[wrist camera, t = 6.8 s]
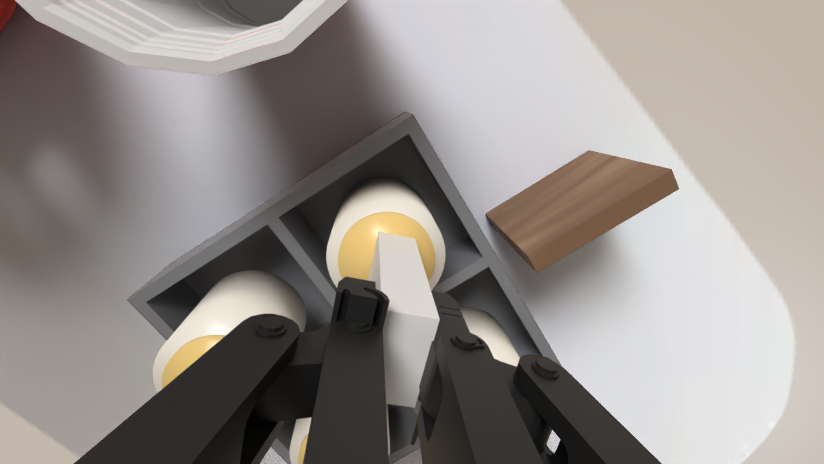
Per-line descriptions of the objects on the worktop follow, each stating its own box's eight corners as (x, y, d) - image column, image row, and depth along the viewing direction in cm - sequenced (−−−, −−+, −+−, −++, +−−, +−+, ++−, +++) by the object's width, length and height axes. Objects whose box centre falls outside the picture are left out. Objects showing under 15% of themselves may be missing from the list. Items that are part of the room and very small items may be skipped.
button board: (170, 263, 24) (126, 299, 20) (405, 111, 23) (413, 114, 18) (331, 442, 29) (324, 501, 24) (532, 325, 27) (562, 367, 23)
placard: (485, 213, 25) (527, 255, 18) (589, 150, 24) (671, 169, 18) (494, 229, 25) (538, 276, 18) (596, 167, 25) (680, 192, 18)
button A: (181, 304, 20) (116, 373, 15) (264, 251, 20) (227, 304, 15) (247, 375, 22) (208, 459, 17) (325, 327, 21) (311, 398, 16)
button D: (398, 338, 22) (406, 411, 17) (479, 290, 22) (512, 349, 16) (444, 402, 23) (465, 486, 18) (521, 358, 23) (564, 431, 18)
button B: (317, 210, 22) (300, 245, 16) (397, 159, 21) (406, 177, 16) (370, 283, 23) (369, 335, 18) (446, 236, 23) (468, 276, 18)
